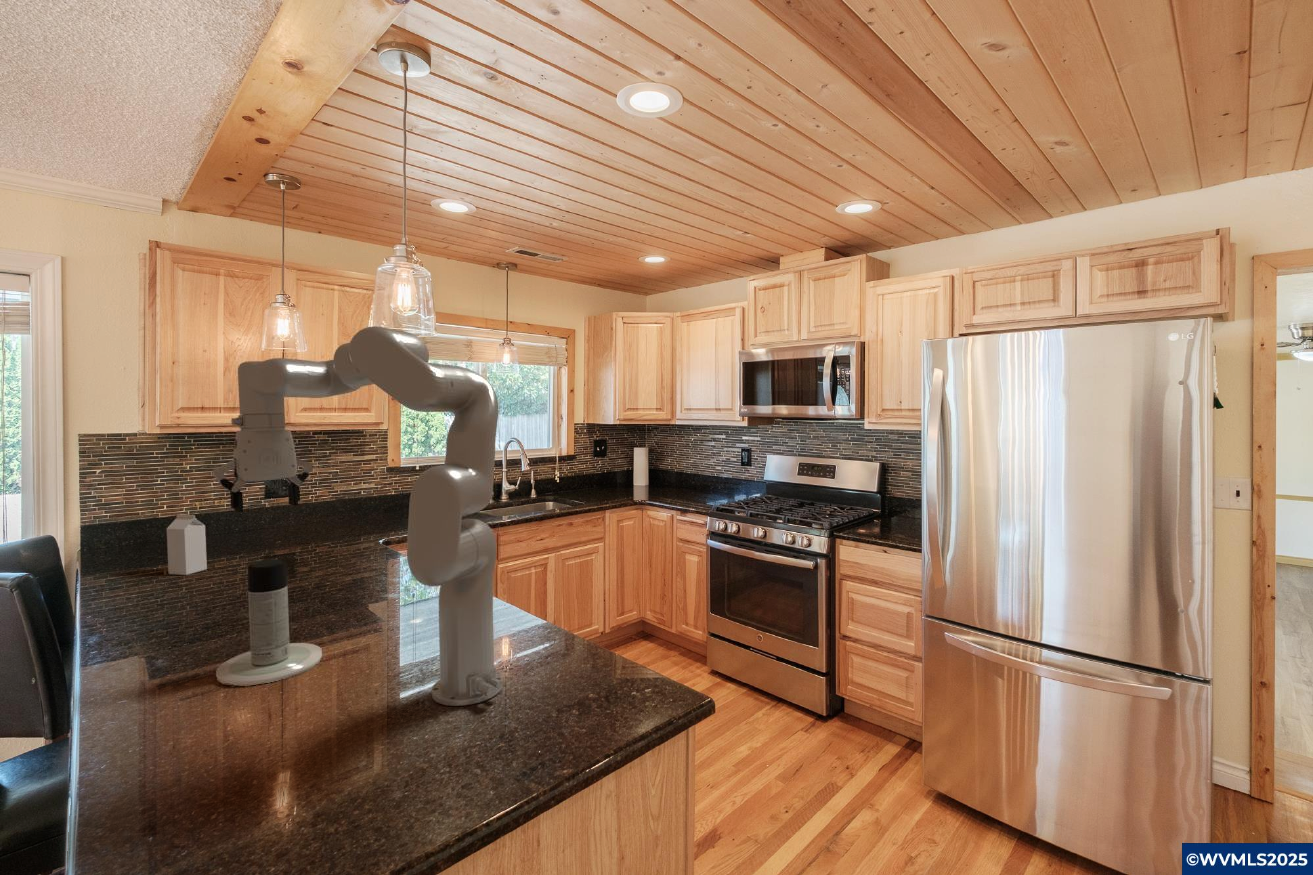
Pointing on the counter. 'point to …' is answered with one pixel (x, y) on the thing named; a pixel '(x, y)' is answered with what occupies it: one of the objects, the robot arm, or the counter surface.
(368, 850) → the counter surface
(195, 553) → the milk carton
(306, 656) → the dish
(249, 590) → the spray can
